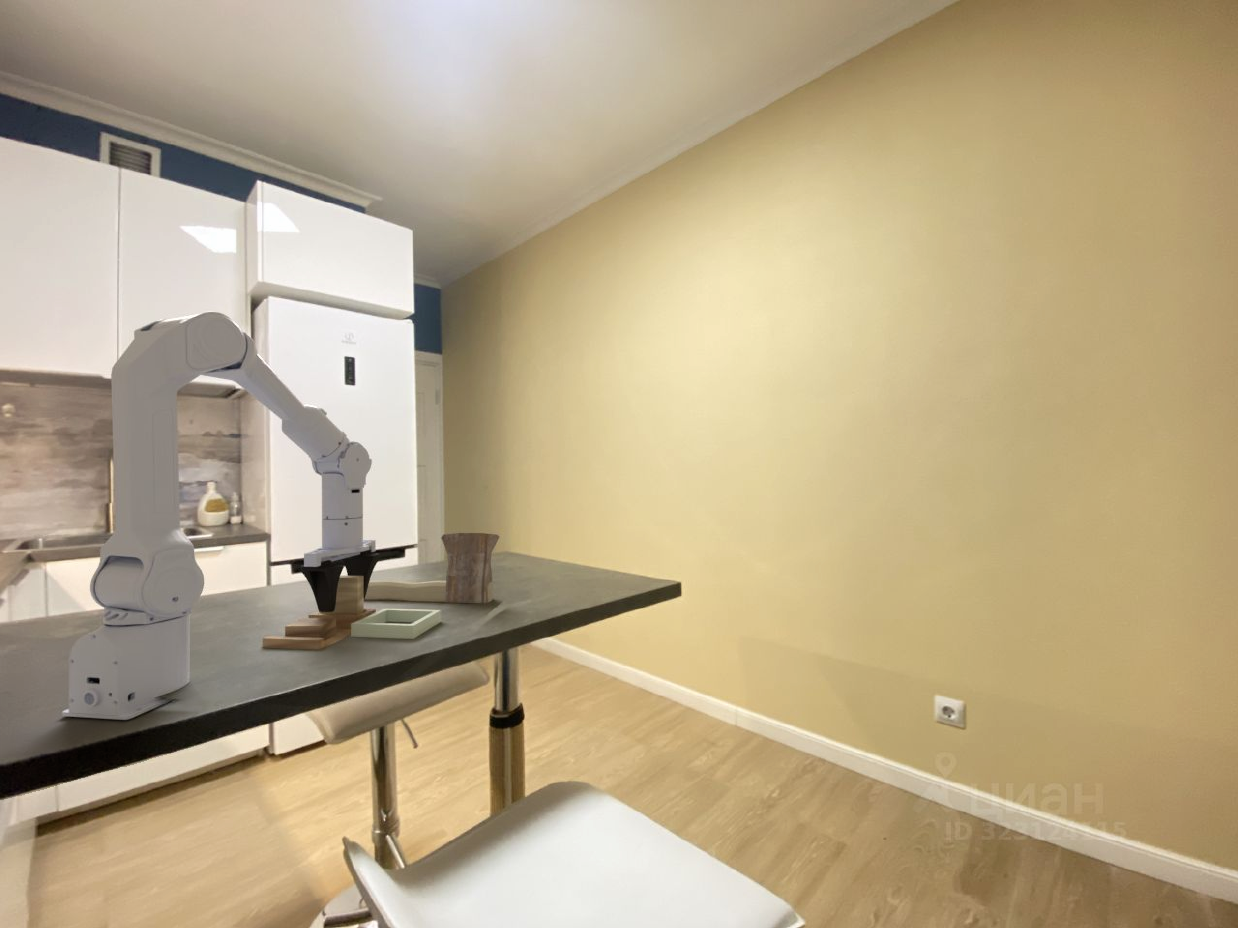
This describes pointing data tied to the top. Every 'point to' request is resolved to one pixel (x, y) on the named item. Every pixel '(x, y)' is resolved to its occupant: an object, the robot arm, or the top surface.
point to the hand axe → (449, 574)
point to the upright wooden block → (349, 596)
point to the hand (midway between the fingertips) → (343, 604)
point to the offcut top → (310, 626)
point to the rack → (318, 643)
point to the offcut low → (325, 635)
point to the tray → (380, 629)
